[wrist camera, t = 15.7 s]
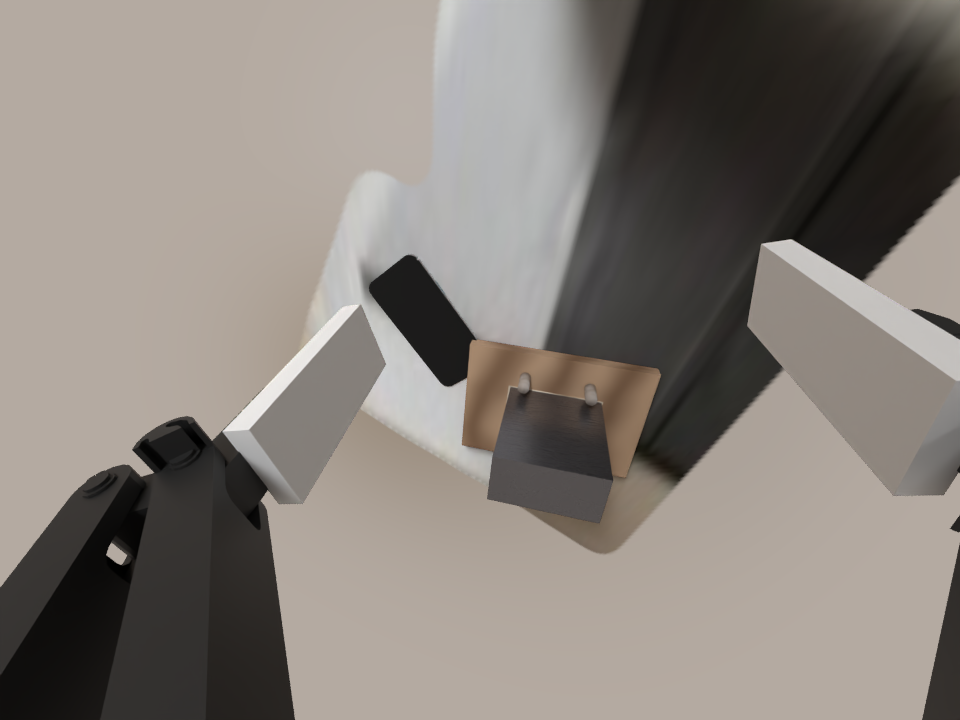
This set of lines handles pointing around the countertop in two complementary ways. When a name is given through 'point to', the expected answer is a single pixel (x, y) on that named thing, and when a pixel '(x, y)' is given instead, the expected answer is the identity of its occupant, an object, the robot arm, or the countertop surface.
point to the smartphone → (425, 318)
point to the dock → (557, 392)
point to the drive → (552, 456)
